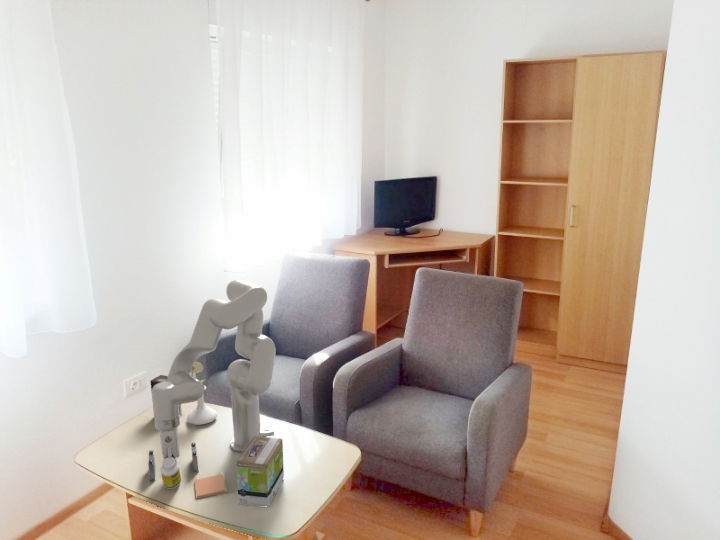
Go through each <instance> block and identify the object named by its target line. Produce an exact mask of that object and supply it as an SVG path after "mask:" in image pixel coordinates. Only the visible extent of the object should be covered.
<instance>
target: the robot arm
mask: <svg viewBox="0 0 720 540" xmlns="http://www.w3.org/2000/svg"><path fill="white" fill-rule="evenodd" d="M226 296H227V299H228V300H229V301H226V300H222V299H218V298H210V299H208V300H206V301H205V302H204V303H203V305H202V307H201V310H200V312H199V313H200V314H199V315H198V318H197V321H196V324H195V325H194V326H195V327H194V329H193V332H192V335H191V337H190V340H189V342H188V343H187V344H186V345H185V346H184V347H183V348H182V349H181V350H180V352H178V353H177V355H176V356H175V357H174V359H173V361H172V364H171V366H170V370H169V372H168V374H167V376H168V378H167V382H161V383H158V384H156V385H155V386H154V387H153V389H152V391H151V398H153V401H152V408H153V409H154V410H153V417H154V428H155V430H156V431H159V438H160V445H161V452H162V459H163V460H164V459H165V458H167V457H173V458H174V459H175V461H176V462H177V459H178V458H180V441H179V431H178V430H179V429H178V427H179V426H180V425H181V419H180V418H181V416H180V415H179V404H181V405H182V404H188V403H194V402H196V401H197V402H198V399H200V398H201V397H202V396H203V394H205V391H206V389H204V386H205V385H204V384H203V383H204V382H203V383H202V382H201V380H200V379H198V378H196V377H194V376H193V377H192V374H191V372H190V371H191V369H192V366H193V364H194V363H195V361H196V362H197V360H198V359H199V358H200V357H202V356H203V355H205V354H208V353H212V352H214V351H215V350H216V349H217V345H218V343H219V339H220V338H221V334H222V331H223V329H224V330H231V329H234V328H236V327H237V328H236V335H235V343H234V349H235V352H236V353H237V354H238V356H239V355H240V356H241V357H243V359H241V358H239V359H236V360H234V361H232V362H231V363H230V364H229V366H228V367H227V370H226V379H227V383H228V384H227V385H228V389H229V393H230V400H231V402H230V403H231V412H232V413H231V414H232V415H231V416H232V429H233V436H232V438H231V439H230V441H229V446H230V448H231V449H232V450H233V451H236V452H240V453H242V452H243V451H244V450H245V448H246V447H247V445H248V444H249V443H250V441H251V440H252V438H253V437H254V436H257V437H273V436H275V430H273V429H272V430H270V428H264V429H263V428H261V418H260V417H261V416H260V415H261V414H260V398H259V397H260V396H262V395H264V394H265V393H266V392H267V391H268V389H270V386H271V384H272V380H273V379H272V378H273V374H274V366H275V360H276V354H277V353H276V351H277V350H276V346H275V342H274V341H273V340H272V338H270V337H269V336H268V335H265V334H263V326H264V312H263V311H264V310H263V308H264V307H265V305H266V304H267V301H268V292H267V291H266V290H265V288H264V287H263V286H261V285H258V284H255V283H251V282H248V281H245V280H242V279H241V280H238V279H235V280H231V281H230V282H229V283H228V284H227V286H226ZM204 390H205V391H204Z"/></svg>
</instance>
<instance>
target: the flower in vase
mask: <svg viewBox="0 0 720 540" xmlns="http://www.w3.org/2000/svg"><path fill="white" fill-rule="evenodd" d="M204 368H205V367H204V365H202V362H199V361H197V360H196V361H195V363H194V364H193V366H192V369H191V371H190V374H191V376H192V377H194V376H193V375H194V374H199V373H200V372H201V373H202V372H203V370H204ZM200 381H201V382H202V383H205V381H206V379H205V378H204V379H201V380H200ZM204 389H205V390H204V392H205V391H206V389H207V386H206V385H204ZM204 394H205V393H204ZM204 394H203V396H202V397H201V398H200V399H198V400H197V406H196V407H195V408H194V409H192V410H191V411H190V412H189V413H188V414H187V416H186V421H187V422H188V423H189V424H192V425H196V426H199V425H201V426H202V425H205V424H208V423H211V422H213V421H215V420H216V418H217V416H218V413H217V411H216V410H215V409H214V408H212V407H209V406H208V405H207V404H205V401H204Z"/></svg>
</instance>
